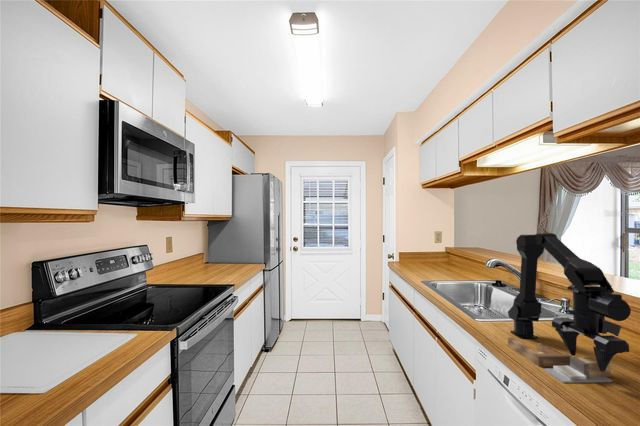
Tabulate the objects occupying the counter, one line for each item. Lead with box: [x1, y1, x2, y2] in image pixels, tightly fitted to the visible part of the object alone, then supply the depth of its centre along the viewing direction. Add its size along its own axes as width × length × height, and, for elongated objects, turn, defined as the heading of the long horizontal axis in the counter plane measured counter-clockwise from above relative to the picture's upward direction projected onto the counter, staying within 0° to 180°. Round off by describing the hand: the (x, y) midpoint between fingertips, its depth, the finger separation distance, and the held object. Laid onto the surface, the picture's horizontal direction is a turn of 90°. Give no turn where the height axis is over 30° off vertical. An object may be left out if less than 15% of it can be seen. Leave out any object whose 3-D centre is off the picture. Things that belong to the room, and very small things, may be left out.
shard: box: [535, 341, 562, 354], centre depth 100 cm, size 11×8×2 cm
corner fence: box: [507, 336, 573, 367], centre depth 98 cm, size 14×10×3 cm
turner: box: [552, 356, 612, 380], centre depth 86 cm, size 13×6×4 cm, turn 91°
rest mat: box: [543, 367, 613, 384], centre depth 86 cm, size 7×14×1 cm, turn 91°
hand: (587, 362), depth 86 cm, fingers open, 9 cm apart
